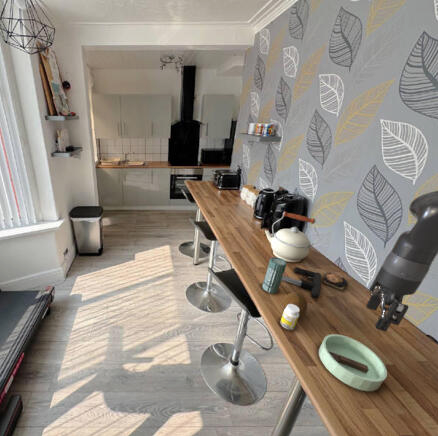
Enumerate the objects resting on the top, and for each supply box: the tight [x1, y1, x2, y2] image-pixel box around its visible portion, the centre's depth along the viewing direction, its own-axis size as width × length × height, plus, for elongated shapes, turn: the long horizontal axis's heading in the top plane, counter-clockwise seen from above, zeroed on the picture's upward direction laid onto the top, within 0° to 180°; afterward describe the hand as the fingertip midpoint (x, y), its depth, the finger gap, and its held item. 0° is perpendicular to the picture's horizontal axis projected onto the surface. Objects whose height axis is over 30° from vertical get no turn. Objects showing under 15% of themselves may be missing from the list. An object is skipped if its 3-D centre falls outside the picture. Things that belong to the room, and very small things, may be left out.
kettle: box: [264, 211, 319, 263], centre depth 129 cm, size 25×18×25 cm
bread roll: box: [323, 272, 348, 291], centre depth 112 cm, size 11×8×4 cm
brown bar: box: [328, 351, 369, 373], centre depth 74 cm, size 10×3×2 cm, turn 61°
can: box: [261, 256, 288, 295], centre depth 103 cm, size 6×6×15 cm
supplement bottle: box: [279, 304, 300, 330], centre depth 86 cm, size 5×5×8 cm
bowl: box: [318, 333, 388, 392], centre depth 73 cm, size 15×15×4 cm
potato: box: [283, 291, 308, 319], centre depth 93 cm, size 8×12×8 cm, turn 155°
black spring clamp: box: [281, 266, 324, 300], centre depth 111 cm, size 3×20×16 cm
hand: (375, 318), depth 66 cm, fingers open, 8 cm apart
